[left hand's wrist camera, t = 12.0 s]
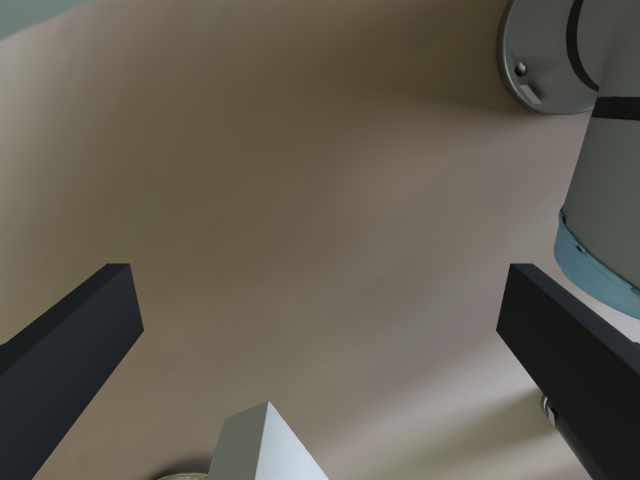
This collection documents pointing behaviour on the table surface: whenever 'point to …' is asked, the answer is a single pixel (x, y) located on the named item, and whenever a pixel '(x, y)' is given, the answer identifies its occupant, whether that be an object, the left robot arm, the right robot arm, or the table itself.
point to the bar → (261, 449)
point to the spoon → (184, 476)
